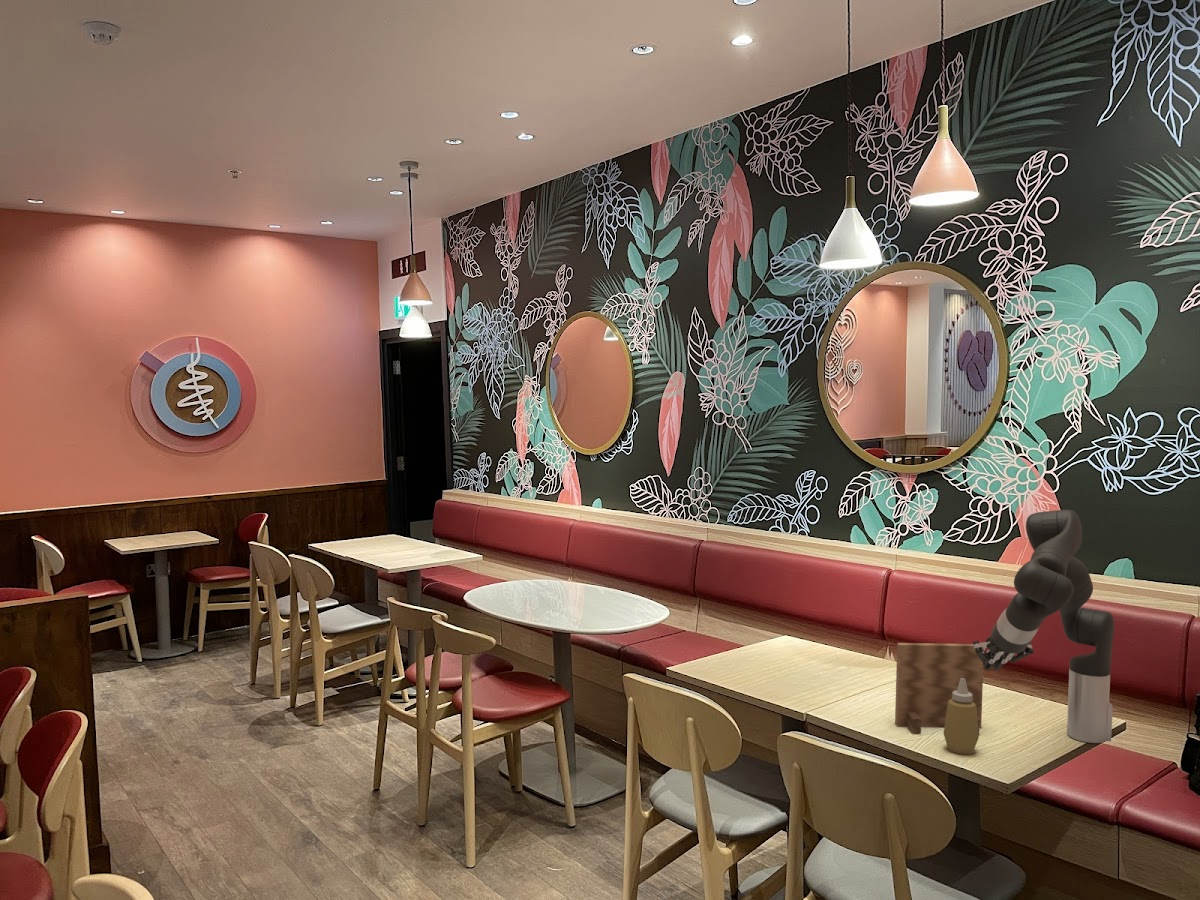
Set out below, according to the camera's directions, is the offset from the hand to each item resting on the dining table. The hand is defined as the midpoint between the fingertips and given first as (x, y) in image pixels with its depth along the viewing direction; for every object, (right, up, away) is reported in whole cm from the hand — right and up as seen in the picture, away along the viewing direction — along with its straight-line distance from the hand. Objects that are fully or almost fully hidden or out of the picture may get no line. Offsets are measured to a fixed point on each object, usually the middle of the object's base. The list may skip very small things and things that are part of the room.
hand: (990, 666), depth 203 cm
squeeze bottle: (0, -25, +17) cm, 31 cm away
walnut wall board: (+1, -24, +31) cm, 39 cm away
